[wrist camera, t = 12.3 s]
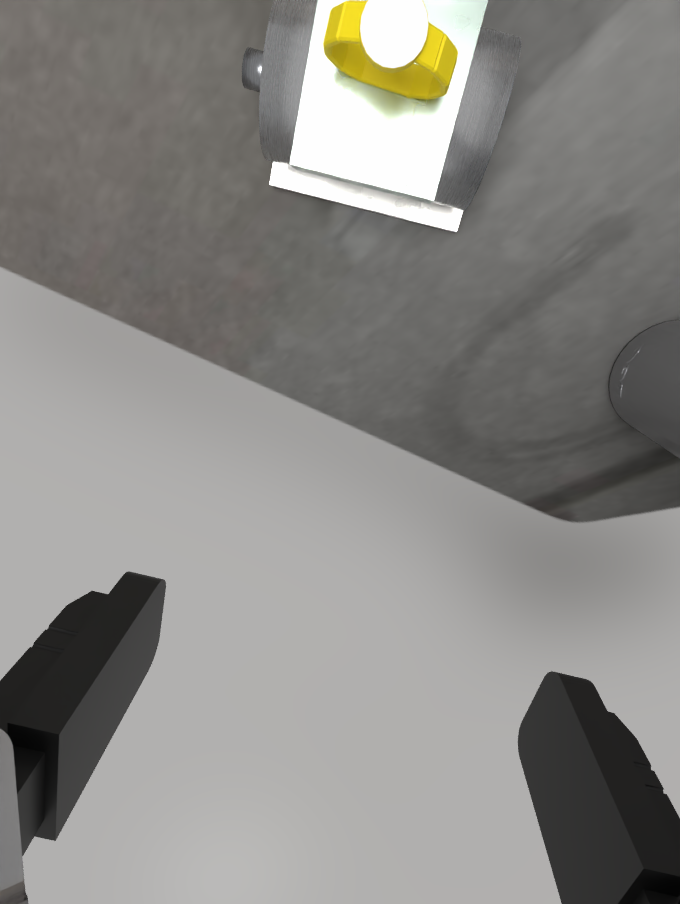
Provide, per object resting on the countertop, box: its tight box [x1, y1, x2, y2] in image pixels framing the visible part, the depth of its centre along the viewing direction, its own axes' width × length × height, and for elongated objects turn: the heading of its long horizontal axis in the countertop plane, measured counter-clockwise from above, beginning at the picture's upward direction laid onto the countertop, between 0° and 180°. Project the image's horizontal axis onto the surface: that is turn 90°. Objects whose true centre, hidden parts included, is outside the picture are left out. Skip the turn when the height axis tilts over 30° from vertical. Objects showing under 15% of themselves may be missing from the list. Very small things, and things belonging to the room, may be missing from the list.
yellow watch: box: [323, 0, 458, 100], centre depth 23 cm, size 6×3×6 cm, turn 74°
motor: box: [242, 0, 521, 233], centre depth 30 cm, size 16×11×13 cm
